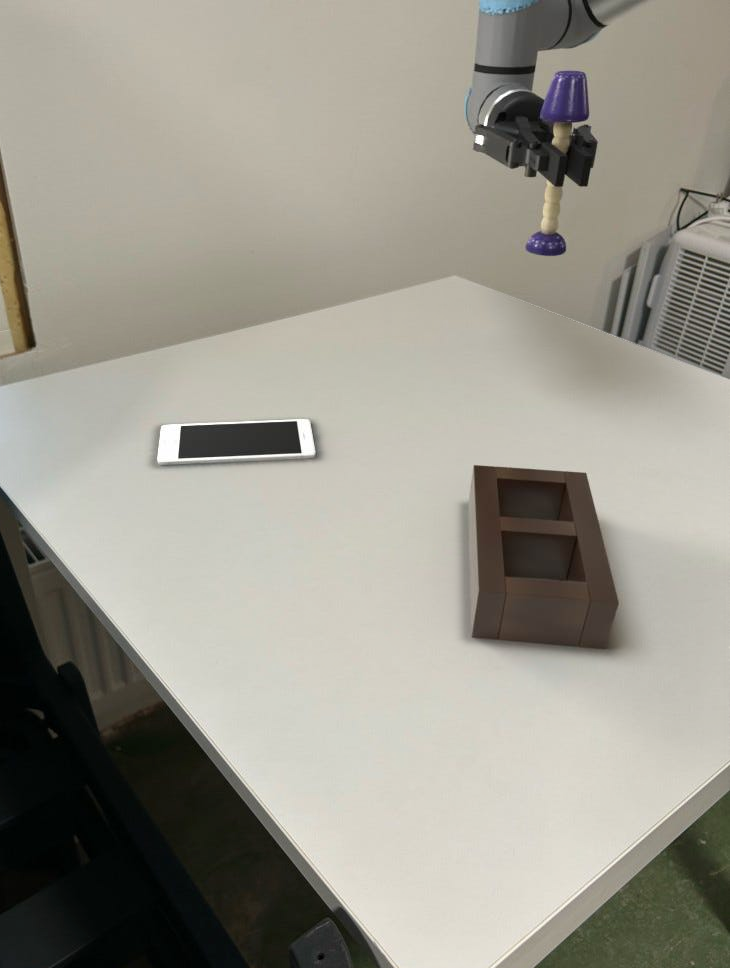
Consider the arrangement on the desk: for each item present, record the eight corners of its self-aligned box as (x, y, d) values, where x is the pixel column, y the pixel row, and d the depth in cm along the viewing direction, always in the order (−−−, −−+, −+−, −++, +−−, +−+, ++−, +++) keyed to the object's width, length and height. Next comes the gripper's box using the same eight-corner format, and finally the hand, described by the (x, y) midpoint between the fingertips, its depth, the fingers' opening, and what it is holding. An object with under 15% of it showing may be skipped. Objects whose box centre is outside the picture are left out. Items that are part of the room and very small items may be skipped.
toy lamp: (528, 257, 86) (557, 75, 76) (513, 243, 90) (539, 68, 80) (571, 255, 87) (606, 75, 77) (555, 242, 90) (586, 68, 81)
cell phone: (162, 429, 89) (161, 424, 89) (309, 423, 91) (309, 418, 90) (157, 467, 83) (156, 461, 83) (316, 459, 84) (316, 454, 84)
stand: (575, 518, 77) (586, 472, 74) (604, 653, 62) (619, 602, 59) (467, 510, 78) (473, 464, 75) (470, 641, 63) (478, 590, 60)
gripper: (572, 160, 100) (641, 212, 81) (451, 160, 99) (492, 213, 80) (584, 90, 95) (659, 127, 76) (457, 90, 95) (502, 128, 76)
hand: (573, 171), depth 78 cm, fingers closed on toy lamp, 2 cm apart
